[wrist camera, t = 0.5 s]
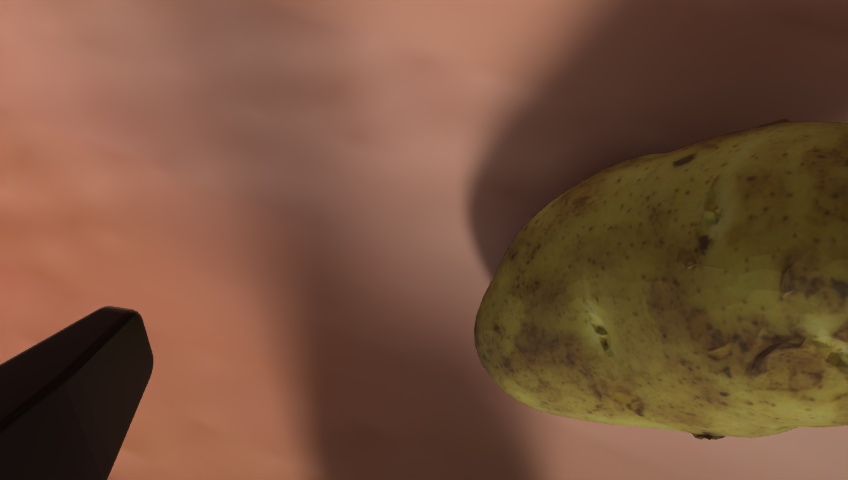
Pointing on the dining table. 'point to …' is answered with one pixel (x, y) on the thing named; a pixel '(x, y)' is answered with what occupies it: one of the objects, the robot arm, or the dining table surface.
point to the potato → (685, 290)
